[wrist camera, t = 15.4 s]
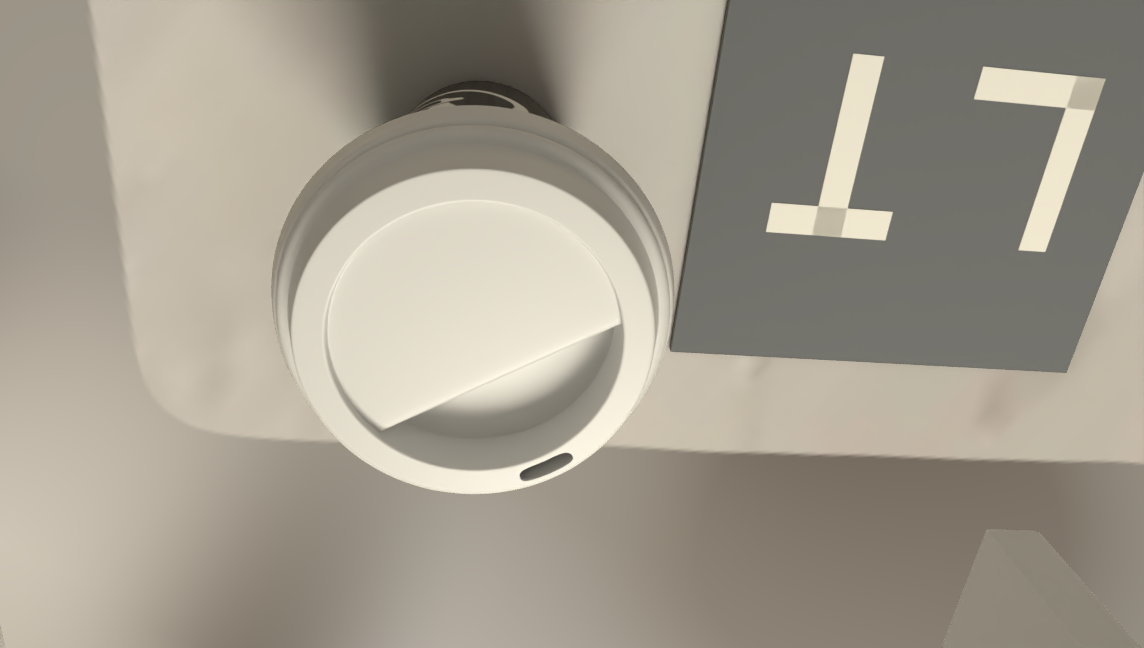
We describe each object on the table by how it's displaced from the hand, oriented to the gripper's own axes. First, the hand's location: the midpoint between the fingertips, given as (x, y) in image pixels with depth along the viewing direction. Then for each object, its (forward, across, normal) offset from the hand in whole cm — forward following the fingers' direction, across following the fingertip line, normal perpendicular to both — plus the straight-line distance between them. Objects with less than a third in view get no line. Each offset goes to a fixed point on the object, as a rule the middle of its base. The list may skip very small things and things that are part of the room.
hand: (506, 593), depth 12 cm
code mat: (+23, +17, +2) cm, 28 cm away
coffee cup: (+23, -1, 0) cm, 23 cm away
